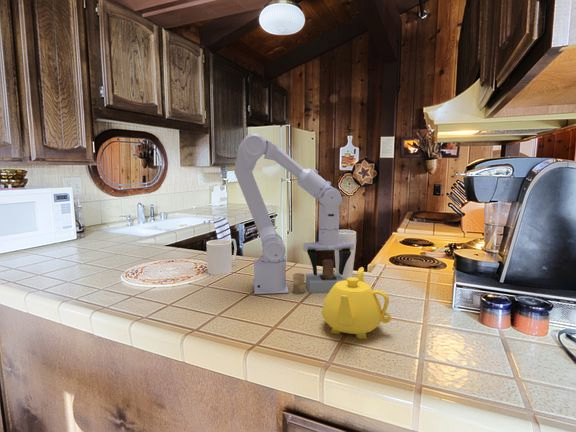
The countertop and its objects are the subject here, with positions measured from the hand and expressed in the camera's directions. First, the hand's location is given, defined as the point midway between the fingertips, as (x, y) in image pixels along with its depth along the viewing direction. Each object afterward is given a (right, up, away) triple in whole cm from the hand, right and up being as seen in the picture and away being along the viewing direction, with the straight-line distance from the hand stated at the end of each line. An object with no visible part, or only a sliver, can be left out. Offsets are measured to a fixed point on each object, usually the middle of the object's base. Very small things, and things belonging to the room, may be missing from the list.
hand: (328, 274), depth 100 cm
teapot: (+3, -8, -25) cm, 26 cm away
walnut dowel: (0, -4, 0) cm, 4 cm away
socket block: (-1, -4, 0) cm, 4 cm away
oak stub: (-9, -5, -3) cm, 10 cm away
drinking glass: (+6, -3, +9) cm, 11 cm away
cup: (-34, -2, +17) cm, 38 cm away
